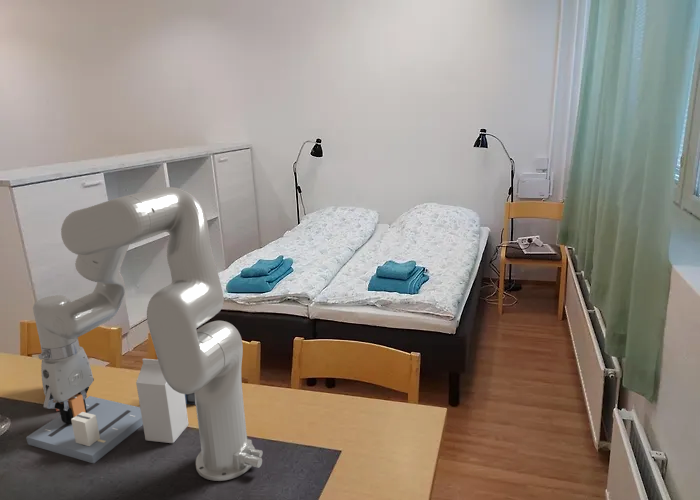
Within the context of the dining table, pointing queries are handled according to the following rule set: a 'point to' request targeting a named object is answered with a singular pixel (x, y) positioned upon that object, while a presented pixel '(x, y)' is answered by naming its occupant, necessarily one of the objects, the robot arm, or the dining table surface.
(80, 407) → the orange fader knob
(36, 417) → the dining table surface
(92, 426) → the cream knob
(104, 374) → the dining table surface
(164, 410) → the milk carton
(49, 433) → the fader console
